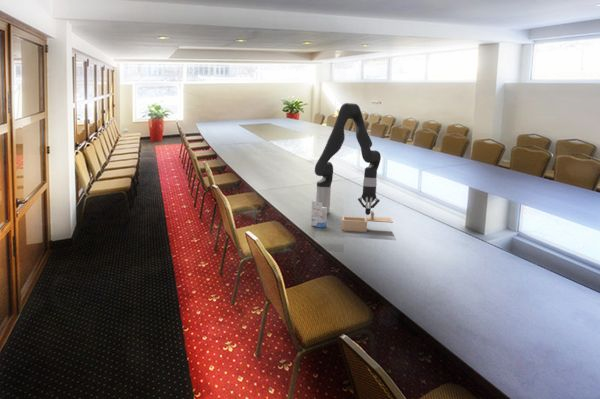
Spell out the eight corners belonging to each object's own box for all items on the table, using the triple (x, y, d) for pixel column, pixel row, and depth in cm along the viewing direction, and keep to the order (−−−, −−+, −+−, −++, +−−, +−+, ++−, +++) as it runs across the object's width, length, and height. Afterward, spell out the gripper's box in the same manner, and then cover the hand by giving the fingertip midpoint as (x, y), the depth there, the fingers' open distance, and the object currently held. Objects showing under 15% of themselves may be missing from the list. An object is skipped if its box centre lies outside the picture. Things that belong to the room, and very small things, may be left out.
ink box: (326, 226, 240) (327, 202, 237) (321, 227, 236) (322, 203, 234) (315, 224, 245) (316, 200, 243) (310, 225, 242) (311, 201, 239)
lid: (365, 217, 240) (366, 209, 240) (390, 218, 239) (390, 211, 238) (367, 221, 229) (367, 213, 228) (392, 222, 228) (393, 214, 227)
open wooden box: (341, 226, 242) (342, 216, 241) (365, 227, 241) (366, 217, 240) (342, 230, 232) (342, 220, 231) (366, 231, 230) (367, 221, 229)
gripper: (380, 185, 235) (378, 214, 237) (357, 183, 236) (355, 212, 239) (382, 186, 227) (379, 216, 230) (358, 185, 228) (356, 215, 231)
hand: (367, 214), depth 234 cm, fingers closed
